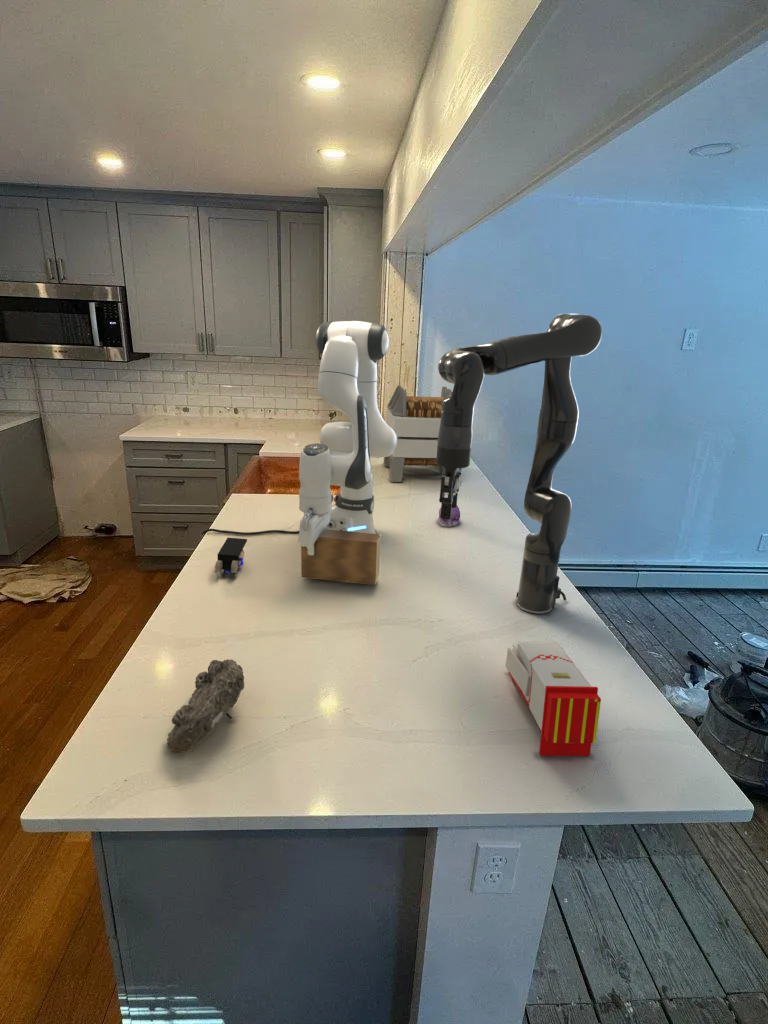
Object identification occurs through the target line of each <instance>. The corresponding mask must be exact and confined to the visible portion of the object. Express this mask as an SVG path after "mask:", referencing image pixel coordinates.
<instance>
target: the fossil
mask: <svg viewBox="0 0 768 1024" xmlns="http://www.w3.org/2000/svg"><path fill="white" fill-rule="evenodd" d="M243 670H244V669H243V667H242V665H240V664H237V662H236V661H235V660H234V659H232V658H231V659H227V658H226V659H224V660H223V661H222V660H217V659H212V660H211V661H210V663H209V665H208V666H207V671H201V672H199V673H198V674H197V675H196V676H195V680H194V684H195V685H194V687H195V689H194V690H193V693H192V694H191V697H190V698H189V700H188V704H184V705H182V706H181V707H180V709H177V710H176V711H175V713H174V715H173V716H172V718H171V723H172V724H173V727H172V730H171V731H170V732H168V734H167V738H166V741H167V742H166V745H167V749H168V750H169V751H173V752H174V753H176V754H178V753H182V752H188V751H189V752H192V751H193V750H195V748H196V747H197V746H199V744H200V743H201V742H203V741H204V740H205V739H206V738H207V737H208V736H209V735H210V734H211V733H212V732H214V730H215V729H217V727H218V726H219V724H220V722H221V721H222V720H223V719H224V718H225V716H226V717H227V719H229V720H233V717H232V715H230V714H229V710H230V709H231V708H234V706H235V704H236V703H237V702H238V699H239V697H240V695H241V693H242V691H243V690H245V689H244V688H245V675H244V671H243Z"/></svg>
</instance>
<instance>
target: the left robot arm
mask: <svg viewBox="0 0 768 1024" xmlns="http://www.w3.org/2000/svg"><path fill="white" fill-rule="evenodd" d="M315 344H316V349H317V351H318V352H319V353H320V355H321V358H320V363H319V370H318V377H317V392H318V395H319V397H320V399H321V400H322V401H323V403H325V404H326V405H328V406H329V407H331V408H332V409H334V410H336V411H338V412H340V413H342V414H344V415H345V416H347V418H348V419H349V420H350V421H333V422H326V423H325V424H324V425H323V427H321V430H320V432H319V443H318V442H317V443H315V442H314V443H310V444H306V445H305V446H303V447H302V449H301V451H300V456H299V462H298V463H299V465H298V480H299V483H300V484H299V485H300V487H299V491H298V509H299V511H300V512H302V513H303V516H302V517H301V519H300V521H299V525H298V526H299V527H298V530H295V531H293V530H291V531H290V530H282V529H269V530H268V529H267V530H261V531H249V532H248V531H247V532H246V531H233V530H225V529H224V530H223V529H216V528H207V529H205V530H203V531H202V533H201V534H202V535H205V534H207V533H209V532H213V533H214V532H215V533H219V534H230V535H239V536H256V535H264V534H273V533H275V534H276V533H278V534H290V535H298V544H299V546H300V547H301V546H305V547H307V549H308V555H314V553H315V548H314V544H315V541H316V540H317V539H318V537H319V535H320V534H321V533H322V531H323V530H324V529H328V530H339V531H350V532H360V533H371V534H377V532H376V528H375V523H374V513H373V512H374V509H375V496H374V474H373V472H372V463H371V458H372V459H379V458H384V457H389V456H390V455H391V454H392V453H393V452H394V451H395V449H396V446H397V437H396V434H395V432H394V430H393V429H392V428H391V427H390V426H388V424H387V423H386V420H384V418H383V416H382V415H381V412H380V410H379V406H378V365H377V364H378V362H379V360H381V359H383V358H384V357H385V356H386V354H387V352H388V350H389V346H390V345H389V344H390V336H389V331H388V329H387V327H386V326H385V325H384V324H381V323H377V322H368V321H361V320H351V321H350V320H347V321H346V320H345V321H344V320H341V321H334V320H329V321H324V322H322V323H321V324H320V325H319V326H318V328H317V330H316V335H315ZM331 486H336V487H340V488H339V489H340V490H339V491H338V492H337V494H336V495H335V496H334V494H333V493H332V490H331ZM333 503H334V504H333ZM332 504H333V505H332Z"/></svg>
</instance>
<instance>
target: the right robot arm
mask: <svg viewBox="0 0 768 1024" xmlns="http://www.w3.org/2000/svg"><path fill="white" fill-rule="evenodd" d="M602 328H603V327H602V325H601V323H600V321H599V320H598V319H597V318H596V317H595V316H592V315H589V314H584V313H559V314H557V315H556V316H554V318H552V320H551V321H550V323H549V326H548V328H547V331H543V332H535V333H528V334H520V335H514V336H507V337H505V338H504V337H503V338H501V339H498V340H494V341H491V342H488V343H483V344H478V345H470V346H463V347H458V348H457V347H456V348H453V349H451V350H448V351H446V352H445V353H444V354H443V355H442V356H441V358H440V359H439V361H438V365H437V371H438V374H439V376H440V377H441V378H442V379H443V380H444V381H446V382H447V383H449V384H453V388H452V395H451V396H447V397H445V398H444V400H443V402H442V409H441V422H440V428H439V433H438V445H437V458H436V462H437V464H438V465H440V466H443V467H445V468H446V470H445V471H444V473H442V474H441V477H440V480H441V481H440V491H439V498H438V502H439V503H440V504H441V505H440V508H441V516H440V517H441V519H447V520H449V519H450V517H451V508H456V506H458V497H459V492H460V488H461V486H462V477H463V473H462V470H463V469H465V468H468V467H469V466H470V464H471V457H472V447H473V446H472V445H473V437H474V436H473V433H474V432H473V425H474V423H473V422H474V415H475V414H474V413H475V405H476V402H477V400H478V397H479V394H480V392H481V389H482V386H483V382H484V379H485V376H496V375H497V376H498V375H500V374H503V373H507V372H510V371H514V370H517V369H520V368H523V367H526V366H531V365H534V364H537V363H538V364H539V363H541V362H544V374H543V384H542V385H543V386H542V393H541V403H540V410H539V414H538V422H537V428H536V438H535V446H534V450H533V451H534V452H533V458H532V459H533V460H532V464H531V469H530V473H529V477H528V482H527V485H526V489H525V493H524V498H523V511H524V513H525V515H526V516H527V517H528V518H529V519H531V520H533V521H535V522H537V523H539V524H540V529H539V531H534V532H531V533H528V534H527V535H526V537H525V540H524V548H523V555H522V561H521V562H522V563H521V568H520V569H521V570H520V577H519V583H518V591H517V592H516V594H515V595H516V596H515V599H516V601H515V602H516V606H517V607H518V608H519V609H520V610H521V611H523V612H527V613H530V614H535V615H544V614H548V613H550V612H551V611H552V610H553V609H555V608H556V603H557V599H558V600H559V599H561V597H562V599H563V601H567V596H566V594H565V593H564V592H563V591H562V588H560V587H559V581H560V576H559V575H558V569H559V564H560V558H561V557H560V556H561V552H562V546H563V545H564V542H565V540H566V537H567V534H568V529H569V524H570V520H571V515H572V511H573V510H572V507H573V505H572V499H571V497H570V496H569V495H568V494H566V493H563V492H562V491H559V490H557V489H554V488H553V487H552V486H553V485H552V484H553V479H554V474H555V470H556V468H557V466H558V464H559V462H560V461H561V460H562V459H563V457H564V456H565V455H566V454H567V453H568V451H569V449H570V448H571V447H572V445H573V443H574V442H575V439H576V435H577V429H578V422H579V417H580V416H579V415H580V411H579V405H578V401H577V398H576V394H575V392H574V388H573V384H572V380H571V365H572V358H573V357H585V356H587V355H589V354H591V353H593V352H594V351H595V350H596V349H597V348H598V347H599V345H600V343H601V340H602V335H603V329H602ZM445 494H448V498H445V497H444V496H445Z"/></svg>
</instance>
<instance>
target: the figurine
mask: <svg viewBox="0 0 768 1024" xmlns="http://www.w3.org/2000/svg"><path fill="white" fill-rule="evenodd" d="M444 497H445V498H448V494H445V496H444ZM440 516H441V507H440V508H439V510H438V519H437V523H438V524H439V525H440V526H441V527H446V528H449V527H455V526H457V525H458V524H459V523H460V518H461V511H460V508H459V506H458V505H457V506H456V508H451V517H450V519H449V520H447V519H441V517H440Z"/></svg>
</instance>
